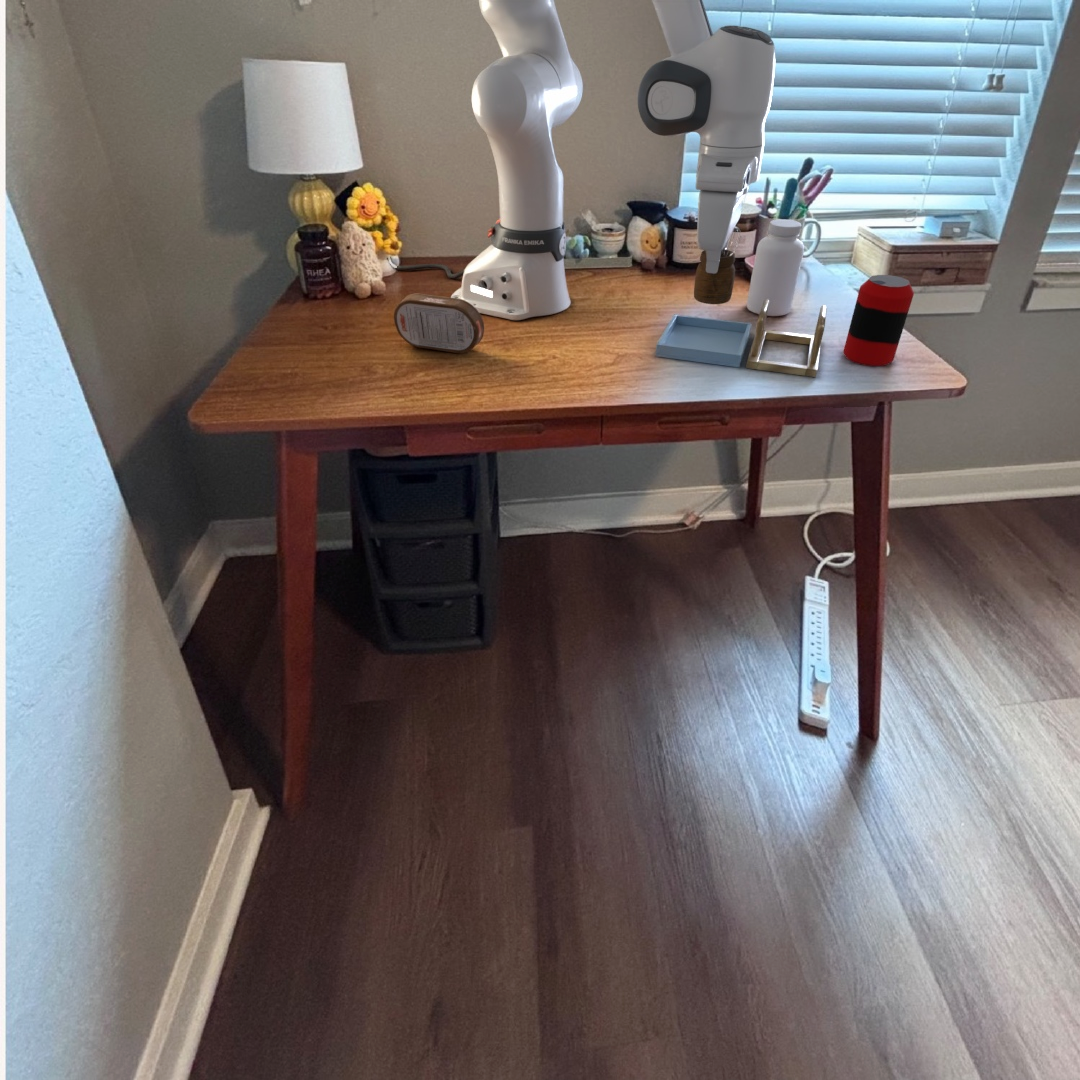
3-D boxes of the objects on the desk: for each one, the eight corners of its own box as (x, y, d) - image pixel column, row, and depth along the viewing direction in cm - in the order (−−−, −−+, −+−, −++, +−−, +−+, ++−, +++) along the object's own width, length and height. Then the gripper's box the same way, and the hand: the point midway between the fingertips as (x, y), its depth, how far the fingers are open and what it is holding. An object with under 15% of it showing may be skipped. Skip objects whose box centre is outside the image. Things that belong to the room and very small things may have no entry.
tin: (486, 350, 117) (483, 299, 112) (478, 358, 115) (475, 306, 110) (403, 339, 121) (397, 289, 116) (394, 346, 119) (387, 295, 114)
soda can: (832, 352, 116) (851, 276, 109) (868, 344, 119) (889, 270, 111) (867, 370, 111) (889, 291, 103) (904, 361, 113) (928, 284, 106)
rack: (745, 368, 112) (753, 323, 107) (755, 335, 122) (763, 293, 118) (815, 377, 109) (826, 332, 104) (819, 343, 119) (830, 300, 115)
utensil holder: (726, 307, 111) (738, 224, 104) (686, 301, 113) (695, 220, 106) (735, 295, 115) (747, 215, 108) (696, 290, 117) (706, 211, 110)
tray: (655, 356, 115) (656, 344, 114) (672, 325, 126) (674, 314, 125) (739, 367, 112) (741, 355, 110) (749, 334, 122) (751, 323, 121)
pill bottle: (792, 318, 128) (811, 229, 119) (746, 315, 129) (761, 227, 120) (789, 303, 134) (807, 218, 125) (745, 300, 136) (759, 215, 127)
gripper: (717, 152, 111) (705, 246, 120) (694, 178, 96) (682, 283, 104) (759, 154, 110) (744, 249, 118) (742, 181, 94) (726, 287, 103)
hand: (715, 265), depth 111 cm, fingers closed on utensil holder, 5 cm apart
